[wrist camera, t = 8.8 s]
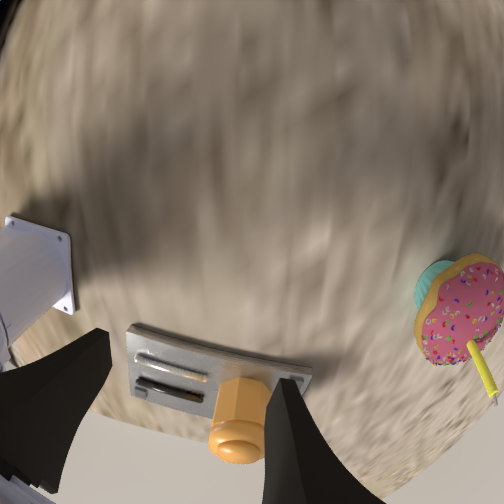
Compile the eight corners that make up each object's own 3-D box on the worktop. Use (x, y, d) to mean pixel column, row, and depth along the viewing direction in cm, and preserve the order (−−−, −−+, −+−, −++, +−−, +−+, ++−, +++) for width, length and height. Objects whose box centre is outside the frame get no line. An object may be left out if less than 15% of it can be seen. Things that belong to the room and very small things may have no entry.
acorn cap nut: (215, 403, 23) (203, 461, 17) (223, 373, 22) (211, 437, 15) (262, 413, 23) (259, 470, 17) (276, 384, 22) (277, 447, 16)
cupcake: (425, 342, 21) (482, 439, 10) (373, 297, 20) (442, 421, 8) (484, 273, 18) (567, 346, 7) (444, 213, 17) (562, 279, 6)
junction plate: (134, 388, 25) (121, 415, 21) (130, 324, 22) (111, 353, 18) (281, 423, 25) (281, 453, 22) (311, 367, 22) (317, 401, 18)
